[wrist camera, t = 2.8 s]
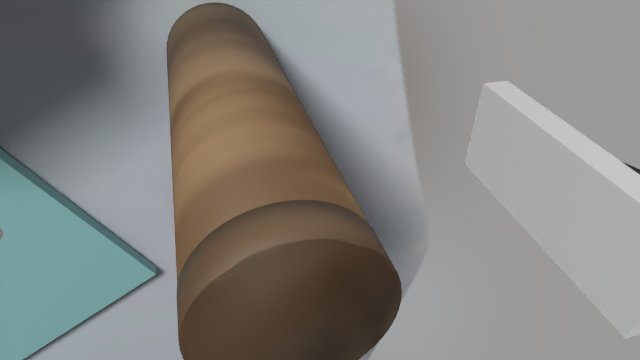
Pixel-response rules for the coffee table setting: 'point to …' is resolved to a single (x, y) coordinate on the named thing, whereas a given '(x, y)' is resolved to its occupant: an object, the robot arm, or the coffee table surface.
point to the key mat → (54, 263)
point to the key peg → (263, 209)
